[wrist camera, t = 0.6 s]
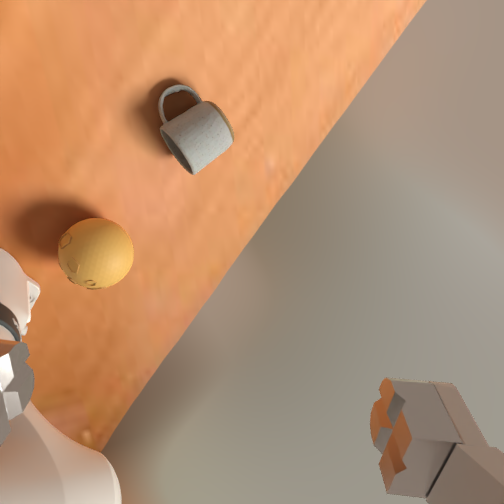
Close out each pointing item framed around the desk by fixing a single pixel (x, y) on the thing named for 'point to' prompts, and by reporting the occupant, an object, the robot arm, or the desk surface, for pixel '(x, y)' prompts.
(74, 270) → the stress ball
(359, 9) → the desk surface
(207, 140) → the ceramic mug
